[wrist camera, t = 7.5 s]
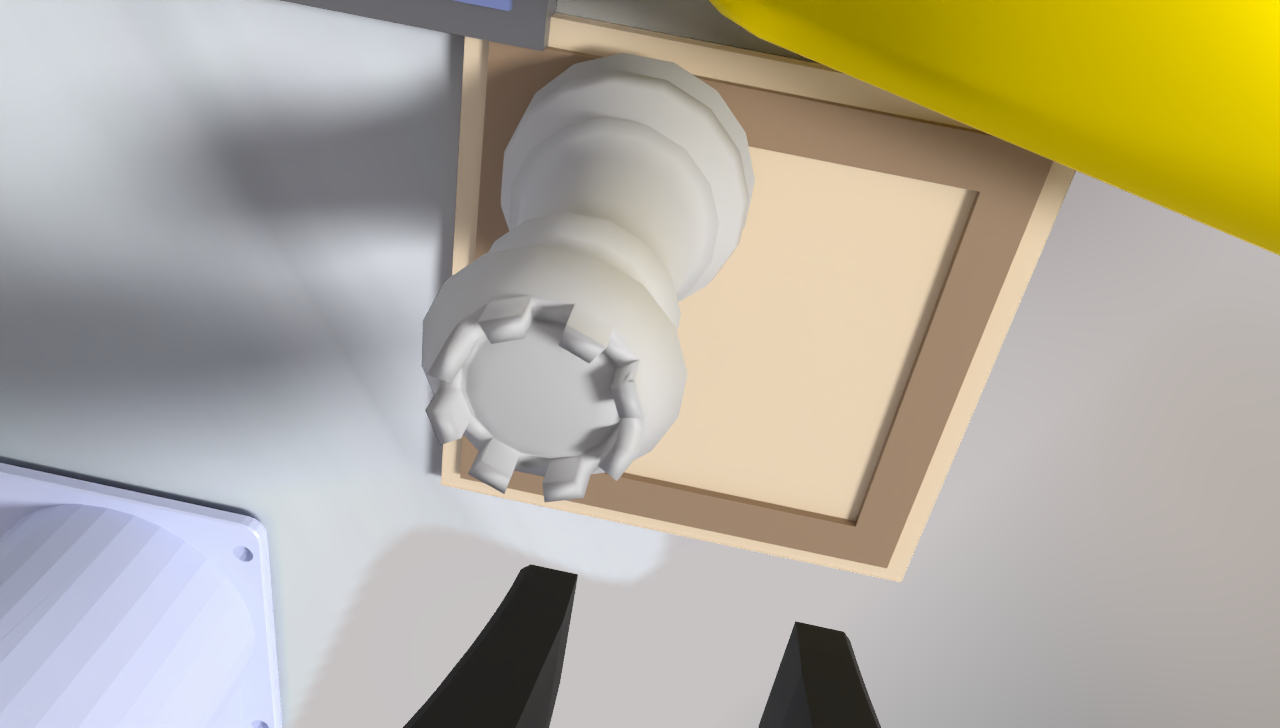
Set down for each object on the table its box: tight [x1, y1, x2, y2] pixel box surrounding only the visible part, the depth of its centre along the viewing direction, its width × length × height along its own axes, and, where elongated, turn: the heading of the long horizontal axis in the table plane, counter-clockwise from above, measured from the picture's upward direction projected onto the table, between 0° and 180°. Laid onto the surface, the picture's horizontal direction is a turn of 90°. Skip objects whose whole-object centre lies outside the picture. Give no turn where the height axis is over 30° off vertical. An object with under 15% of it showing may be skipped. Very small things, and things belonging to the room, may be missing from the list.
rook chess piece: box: [422, 53, 755, 502], centre depth 14 cm, size 4×4×8 cm
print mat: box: [441, 13, 1076, 582], centre depth 19 cm, size 11×11×1 cm
